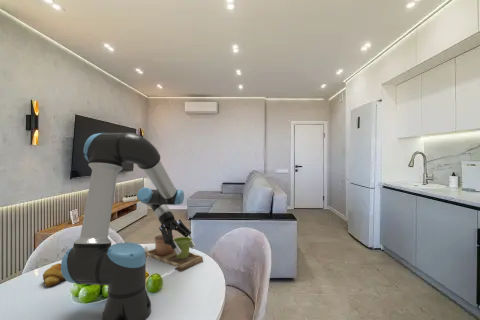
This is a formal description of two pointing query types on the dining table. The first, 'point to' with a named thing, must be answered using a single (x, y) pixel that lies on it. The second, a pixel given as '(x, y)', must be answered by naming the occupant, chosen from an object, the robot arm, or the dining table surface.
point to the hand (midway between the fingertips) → (186, 250)
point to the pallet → (177, 260)
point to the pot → (162, 246)
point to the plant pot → (183, 246)
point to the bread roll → (53, 275)
